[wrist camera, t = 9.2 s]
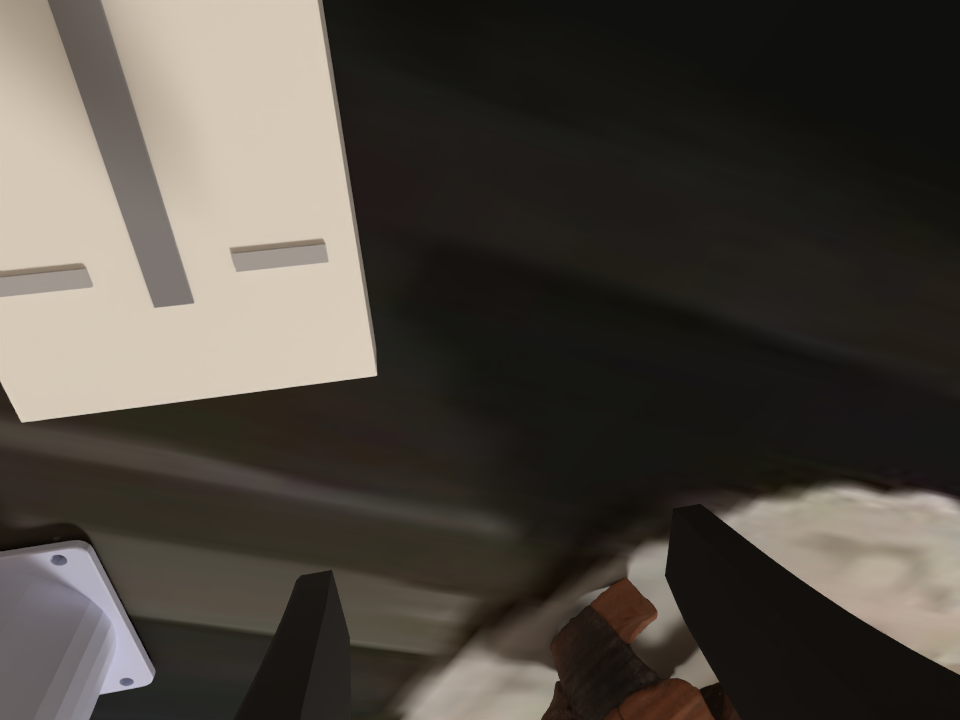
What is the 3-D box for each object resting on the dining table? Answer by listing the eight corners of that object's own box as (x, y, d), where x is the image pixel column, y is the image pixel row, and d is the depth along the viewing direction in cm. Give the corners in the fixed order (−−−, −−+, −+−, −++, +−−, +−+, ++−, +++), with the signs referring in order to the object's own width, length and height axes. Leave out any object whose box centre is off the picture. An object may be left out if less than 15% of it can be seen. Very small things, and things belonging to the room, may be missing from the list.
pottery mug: (667, 526, 27) (827, 692, 23) (667, 568, 35) (786, 697, 31) (462, 705, 26) (589, 919, 21) (510, 707, 34) (610, 864, 29)
